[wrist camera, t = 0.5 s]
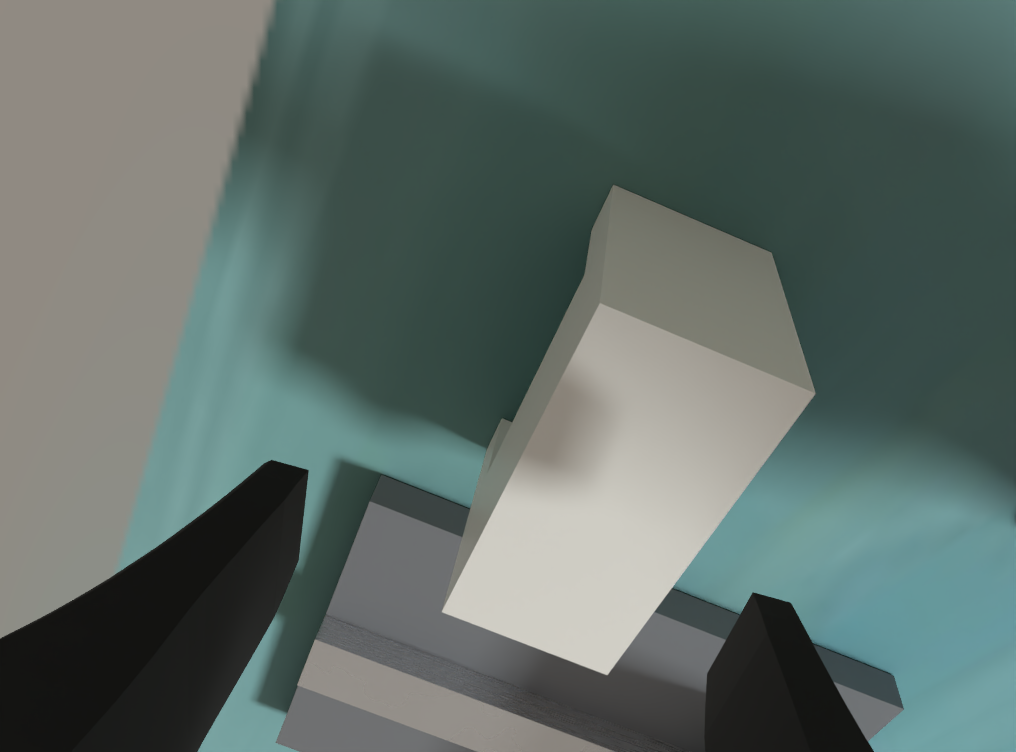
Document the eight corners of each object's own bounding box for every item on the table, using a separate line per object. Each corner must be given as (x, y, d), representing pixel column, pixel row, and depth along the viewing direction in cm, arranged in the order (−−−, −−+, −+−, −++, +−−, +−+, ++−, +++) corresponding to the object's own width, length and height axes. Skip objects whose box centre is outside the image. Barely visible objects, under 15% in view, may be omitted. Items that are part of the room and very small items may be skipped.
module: (771, 252, 19) (815, 393, 14) (607, 515, 24) (596, 689, 19) (613, 184, 19) (599, 302, 14) (479, 464, 24) (433, 628, 18)
